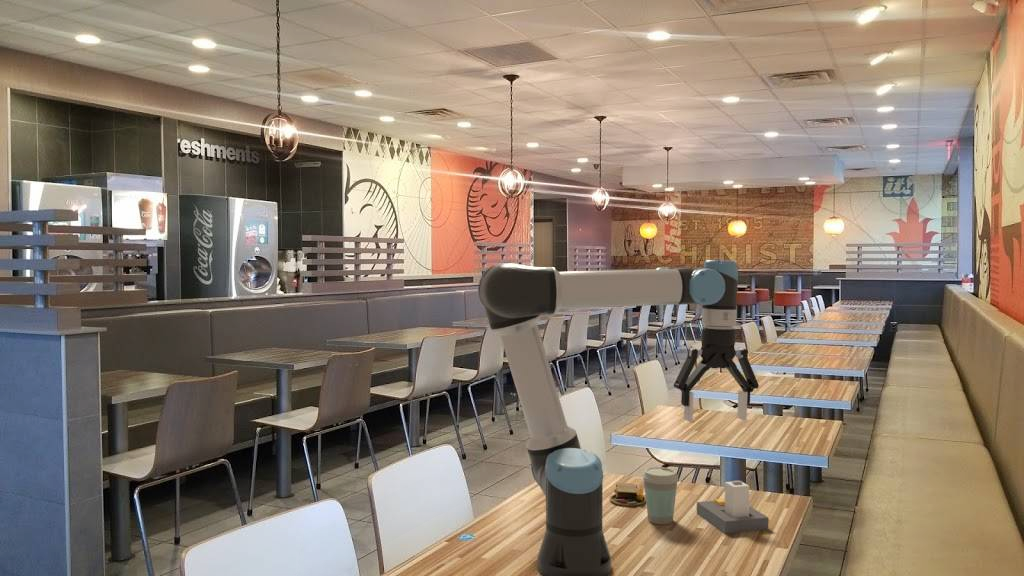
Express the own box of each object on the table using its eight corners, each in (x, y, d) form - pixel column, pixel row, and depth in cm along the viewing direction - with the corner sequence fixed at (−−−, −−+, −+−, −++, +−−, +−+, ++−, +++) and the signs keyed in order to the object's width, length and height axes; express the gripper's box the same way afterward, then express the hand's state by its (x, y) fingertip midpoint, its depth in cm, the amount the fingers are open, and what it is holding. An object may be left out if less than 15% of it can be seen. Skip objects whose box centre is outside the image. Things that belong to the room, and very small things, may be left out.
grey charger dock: (725, 534, 169) (725, 518, 169) (696, 514, 183) (696, 498, 183) (768, 530, 172) (768, 514, 172) (737, 510, 186) (737, 495, 185)
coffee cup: (678, 527, 174) (679, 477, 173) (641, 525, 176) (641, 475, 175) (678, 515, 182) (678, 467, 182) (642, 513, 184) (642, 465, 183)
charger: (733, 529, 173) (733, 484, 172) (724, 523, 177) (725, 479, 176) (748, 528, 173) (749, 483, 173) (740, 522, 177) (740, 478, 177)
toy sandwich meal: (607, 506, 190) (607, 492, 190) (612, 494, 200) (612, 481, 200) (644, 509, 188) (644, 495, 188) (647, 496, 198) (647, 483, 198)
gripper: (675, 328, 163) (672, 424, 164) (776, 329, 169) (772, 421, 170) (661, 325, 170) (658, 417, 171) (758, 326, 176) (754, 415, 177)
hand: (715, 419), depth 170 cm, fingers open, 13 cm apart
